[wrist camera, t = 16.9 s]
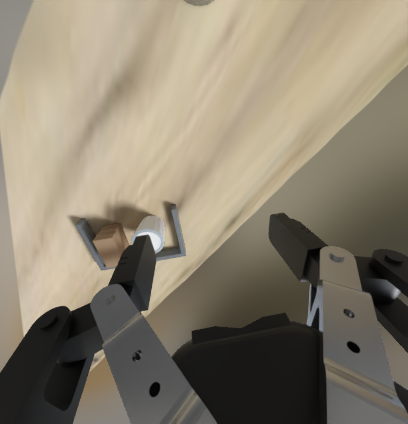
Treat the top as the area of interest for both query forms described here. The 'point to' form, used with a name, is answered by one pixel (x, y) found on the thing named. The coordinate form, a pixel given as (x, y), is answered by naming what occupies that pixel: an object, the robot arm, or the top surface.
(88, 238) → the grey u-shaped bracket
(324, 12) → the top surface
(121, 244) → the block
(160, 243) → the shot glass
